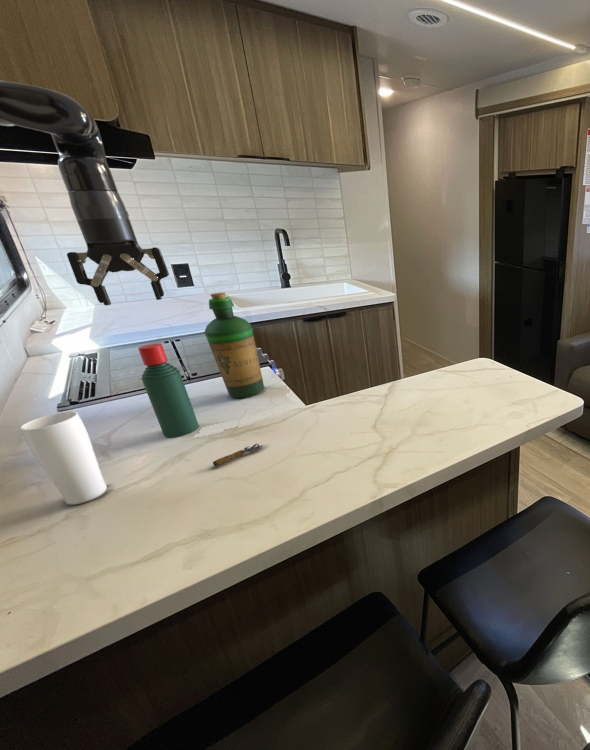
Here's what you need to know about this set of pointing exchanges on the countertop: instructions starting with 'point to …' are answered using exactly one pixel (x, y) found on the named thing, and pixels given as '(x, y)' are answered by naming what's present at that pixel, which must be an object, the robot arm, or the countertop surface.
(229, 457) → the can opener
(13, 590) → the countertop surface
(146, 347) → the cap
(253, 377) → the bottle
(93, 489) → the white cup
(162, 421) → the bottle
